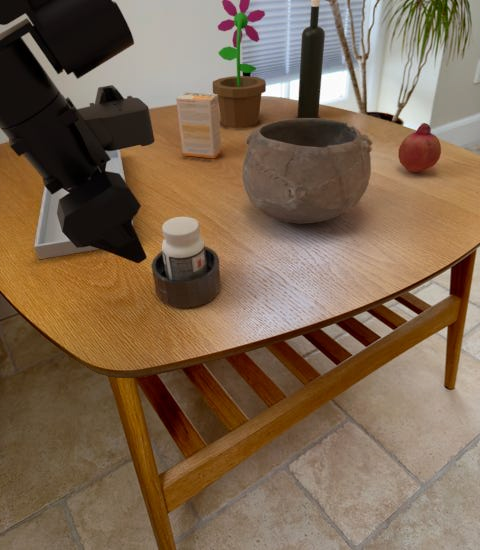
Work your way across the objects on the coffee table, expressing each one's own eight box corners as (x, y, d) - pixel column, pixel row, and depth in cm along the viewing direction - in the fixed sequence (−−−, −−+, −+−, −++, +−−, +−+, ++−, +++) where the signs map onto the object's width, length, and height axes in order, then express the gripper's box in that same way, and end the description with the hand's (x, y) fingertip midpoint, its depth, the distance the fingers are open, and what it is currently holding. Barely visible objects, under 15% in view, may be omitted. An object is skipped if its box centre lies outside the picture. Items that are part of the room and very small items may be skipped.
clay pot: (220, 209, 79) (216, 127, 70) (303, 178, 89) (308, 102, 80) (301, 260, 66) (308, 166, 57) (387, 217, 76) (405, 131, 66)
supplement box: (222, 152, 102) (219, 93, 94) (214, 159, 98) (210, 99, 91) (190, 148, 104) (184, 91, 96) (181, 156, 101) (175, 97, 93)
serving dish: (38, 259, 68) (33, 246, 66) (52, 165, 98) (49, 155, 97) (136, 243, 71) (134, 230, 69) (121, 157, 101) (119, 147, 100)
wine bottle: (300, 113, 125) (308, -12, 107) (320, 115, 123) (331, -12, 105) (294, 119, 120) (301, -10, 102) (315, 121, 119) (325, -10, 101)
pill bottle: (216, 282, 61) (212, 220, 55) (192, 304, 58) (184, 241, 52) (185, 270, 64) (177, 210, 58) (159, 291, 60) (148, 229, 54)
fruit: (390, 175, 89) (400, 127, 83) (398, 161, 95) (408, 115, 89) (432, 182, 86) (445, 132, 80) (438, 167, 92) (450, 120, 86)
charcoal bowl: (161, 315, 56) (156, 288, 54) (152, 276, 63) (147, 250, 61) (227, 301, 58) (226, 274, 56) (212, 264, 65) (210, 239, 63)
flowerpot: (269, 114, 124) (271, -10, 106) (260, 131, 113) (260, -5, 95) (221, 112, 127) (215, -10, 109) (207, 128, 116) (198, -5, 98)
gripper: (141, 80, 30) (228, 237, 40) (91, 42, 43) (166, 167, 54) (0, 168, 29) (128, 305, 39) (-6, 101, 42) (90, 216, 53)
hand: (130, 238), depth 47 cm, fingers open, 9 cm apart
